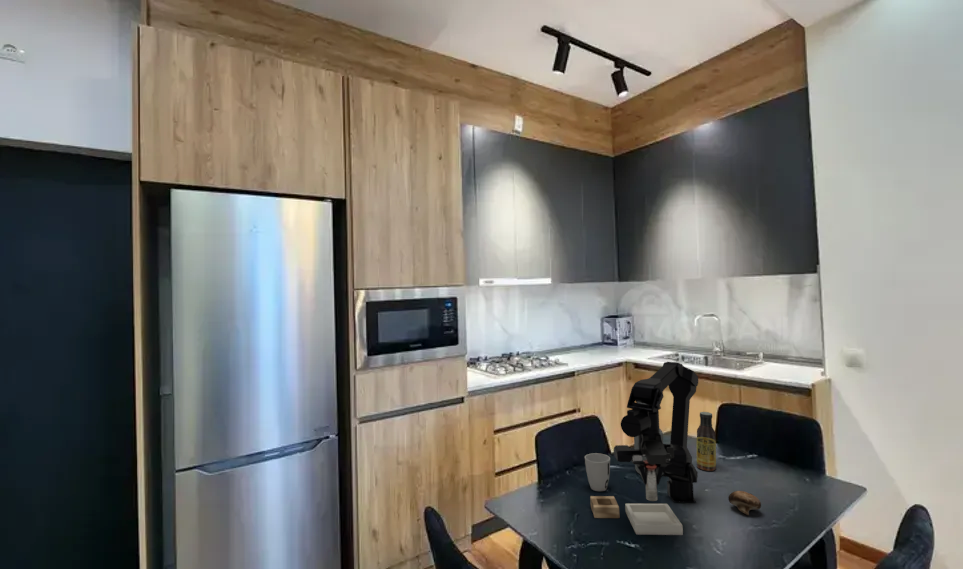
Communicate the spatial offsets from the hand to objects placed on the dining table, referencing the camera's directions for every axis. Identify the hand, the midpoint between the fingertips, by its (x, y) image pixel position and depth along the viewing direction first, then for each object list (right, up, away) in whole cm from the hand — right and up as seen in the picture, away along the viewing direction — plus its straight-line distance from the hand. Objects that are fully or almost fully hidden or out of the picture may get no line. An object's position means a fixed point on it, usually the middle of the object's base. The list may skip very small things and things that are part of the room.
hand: (651, 483), depth 123 cm
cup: (-9, -12, +23) cm, 27 cm away
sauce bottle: (+34, -11, +35) cm, 50 cm away
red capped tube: (0, -4, 0) cm, 4 cm away
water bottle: (+12, -11, +34) cm, 38 cm away
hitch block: (-11, -11, +7) cm, 17 cm away
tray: (0, -11, 0) cm, 11 cm away
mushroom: (+29, -10, +4) cm, 31 cm away
